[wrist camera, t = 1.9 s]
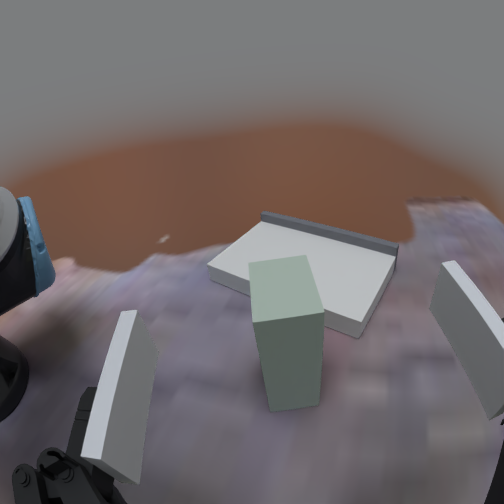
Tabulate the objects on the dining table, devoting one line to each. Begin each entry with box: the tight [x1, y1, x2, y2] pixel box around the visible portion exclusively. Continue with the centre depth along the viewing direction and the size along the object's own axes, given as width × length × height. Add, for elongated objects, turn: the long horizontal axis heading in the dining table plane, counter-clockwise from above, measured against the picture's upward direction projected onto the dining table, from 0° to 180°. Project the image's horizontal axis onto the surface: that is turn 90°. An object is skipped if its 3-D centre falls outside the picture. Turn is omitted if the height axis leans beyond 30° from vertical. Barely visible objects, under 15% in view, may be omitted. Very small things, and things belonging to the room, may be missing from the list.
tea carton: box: [248, 255, 325, 412], centre depth 28 cm, size 5×7×14 cm
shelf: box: [207, 211, 399, 339], centre depth 46 cm, size 24×16×4 cm, turn 54°
